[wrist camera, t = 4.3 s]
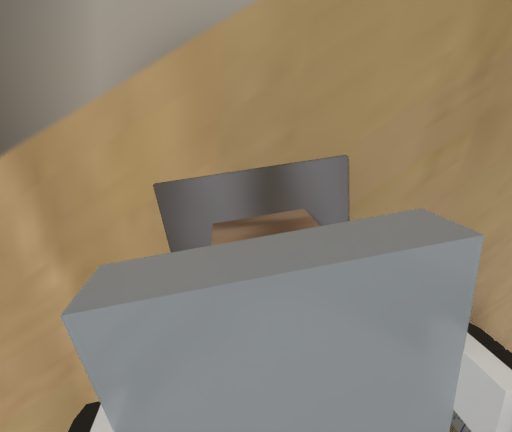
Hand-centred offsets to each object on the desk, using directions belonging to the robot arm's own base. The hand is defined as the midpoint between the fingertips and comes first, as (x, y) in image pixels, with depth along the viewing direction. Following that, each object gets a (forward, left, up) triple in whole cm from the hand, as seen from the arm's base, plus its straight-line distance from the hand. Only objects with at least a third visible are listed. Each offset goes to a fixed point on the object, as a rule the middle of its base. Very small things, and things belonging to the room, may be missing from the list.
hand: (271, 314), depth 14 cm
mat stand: (0, 0, -6) cm, 6 cm away
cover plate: (0, 0, +3) cm, 3 cm away
